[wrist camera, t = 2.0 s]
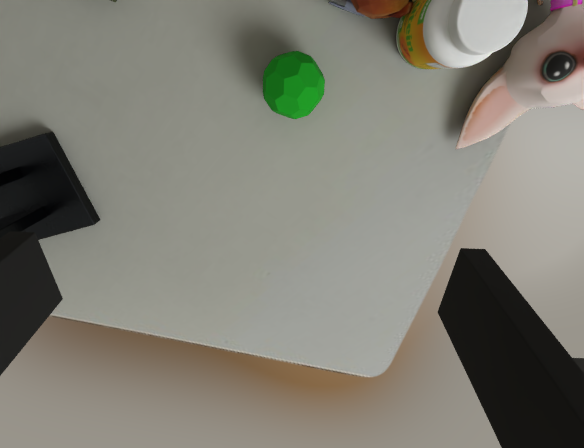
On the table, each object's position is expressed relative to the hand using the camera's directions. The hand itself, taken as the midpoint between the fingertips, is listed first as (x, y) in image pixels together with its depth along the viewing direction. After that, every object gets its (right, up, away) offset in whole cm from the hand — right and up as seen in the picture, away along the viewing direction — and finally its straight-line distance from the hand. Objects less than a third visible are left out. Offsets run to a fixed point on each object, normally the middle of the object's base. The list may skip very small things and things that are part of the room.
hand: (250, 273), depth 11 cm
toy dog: (+20, +22, +11) cm, 32 cm away
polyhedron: (+1, +14, +19) cm, 23 cm away
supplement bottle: (+12, +17, +17) cm, 28 cm away
